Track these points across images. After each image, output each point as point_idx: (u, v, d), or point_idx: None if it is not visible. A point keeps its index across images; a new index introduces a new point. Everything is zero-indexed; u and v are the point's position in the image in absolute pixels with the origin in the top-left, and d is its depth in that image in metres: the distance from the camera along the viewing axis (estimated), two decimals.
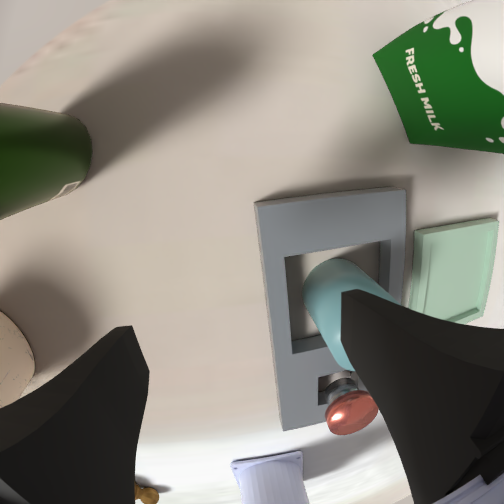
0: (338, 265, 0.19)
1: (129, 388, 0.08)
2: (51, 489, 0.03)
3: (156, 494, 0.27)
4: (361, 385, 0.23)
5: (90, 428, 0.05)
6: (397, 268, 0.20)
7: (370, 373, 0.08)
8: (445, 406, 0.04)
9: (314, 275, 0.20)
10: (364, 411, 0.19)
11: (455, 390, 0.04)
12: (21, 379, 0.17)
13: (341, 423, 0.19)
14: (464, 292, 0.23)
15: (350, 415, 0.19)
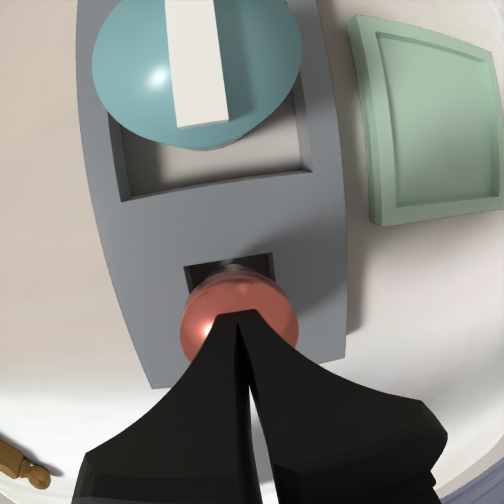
0: None
1: (244, 377, 0.08)
2: (252, 501, 0.03)
3: (44, 475, 0.17)
4: None
5: (243, 421, 0.05)
6: (311, 46, 0.10)
7: (255, 400, 0.08)
8: None
9: None
10: None
11: None
12: None
13: None
14: (466, 153, 0.13)
15: None
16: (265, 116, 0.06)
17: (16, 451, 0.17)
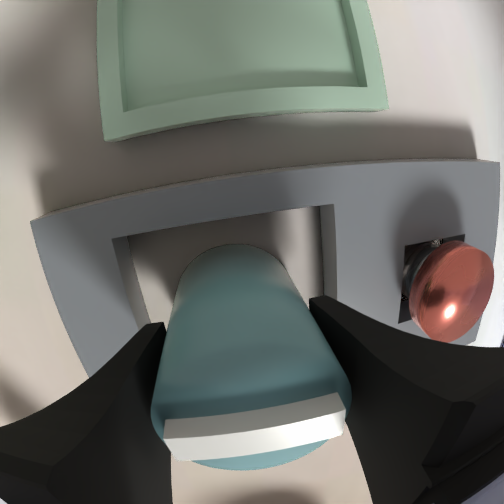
0: None
1: None
2: (103, 500, 0.03)
3: None
4: (447, 229, 0.11)
5: (133, 430, 0.05)
6: (171, 207, 0.09)
7: None
8: (398, 427, 0.04)
9: None
10: (455, 286, 0.09)
11: (407, 413, 0.04)
12: None
13: (460, 320, 0.10)
14: None
15: (451, 311, 0.09)
16: (337, 367, 0.06)
17: None
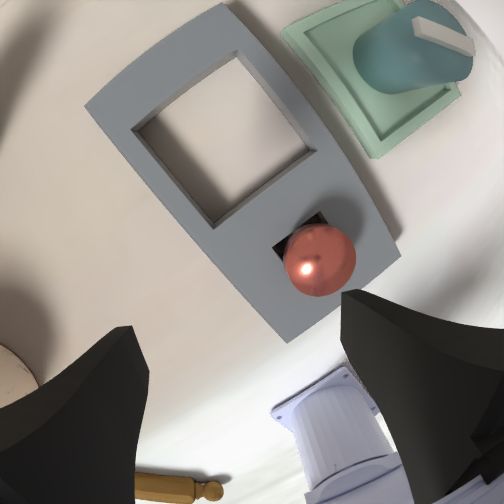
0: (361, 52, 0.14)
1: (129, 388, 0.08)
2: (51, 489, 0.03)
3: (218, 486, 0.27)
4: None
5: (90, 428, 0.05)
6: (272, 71, 0.14)
7: (370, 373, 0.08)
8: (445, 406, 0.04)
9: (368, 77, 0.15)
10: (328, 247, 0.16)
11: (455, 390, 0.04)
12: (18, 391, 0.18)
13: (309, 276, 0.16)
14: None
15: (312, 259, 0.16)
16: (462, 29, 0.09)
17: (187, 478, 0.27)
